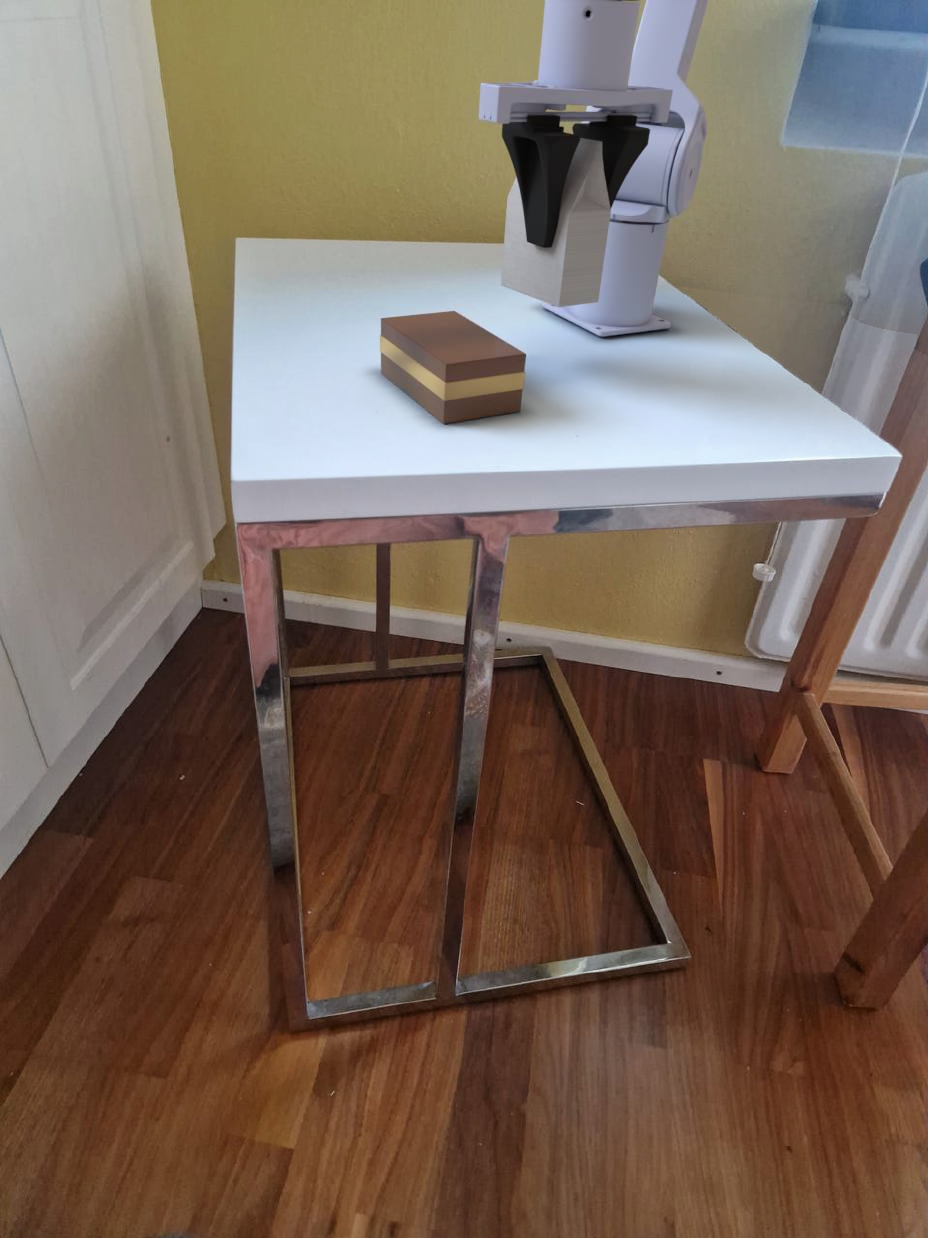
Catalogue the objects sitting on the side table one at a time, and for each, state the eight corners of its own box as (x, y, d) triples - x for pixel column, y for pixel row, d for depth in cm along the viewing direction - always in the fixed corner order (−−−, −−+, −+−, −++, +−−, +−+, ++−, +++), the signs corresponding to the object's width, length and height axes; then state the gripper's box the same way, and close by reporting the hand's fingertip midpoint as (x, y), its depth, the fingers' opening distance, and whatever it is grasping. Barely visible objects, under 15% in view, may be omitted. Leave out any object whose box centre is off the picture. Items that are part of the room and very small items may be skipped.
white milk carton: (558, 307, 57) (577, 141, 52) (500, 285, 62) (512, 130, 56) (598, 302, 59) (620, 141, 53) (539, 280, 64) (554, 130, 58)
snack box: (379, 372, 61) (379, 317, 59) (452, 363, 64) (454, 310, 61) (443, 424, 54) (446, 364, 52) (521, 411, 57) (527, 353, 54)
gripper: (633, 4, 56) (601, 223, 64) (456, -12, 49) (445, 236, 57) (712, 9, 51) (667, 243, 59) (529, -8, 44) (506, 261, 52)
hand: (563, 242), depth 58 cm, fingers closed on white milk carton, 4 cm apart
